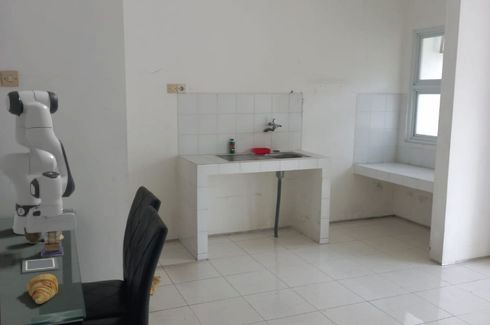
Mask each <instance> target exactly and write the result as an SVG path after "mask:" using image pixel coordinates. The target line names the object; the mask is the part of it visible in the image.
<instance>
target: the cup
mask: <svg viewBox="0 0 490 325" xmlns="http://www.w3.org/2000/svg"><path fill="white" fill-rule="evenodd" d="M24 232H25V234H24V237H25V240H26V241H28V244H29V245H32V246H33V244H34V245H37V244H38V241H39V240H40V239H41V236H42V233H41V232H38V233H27V232H26V228H25V227H24Z"/></svg>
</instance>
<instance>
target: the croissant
mask: <svg viewBox="0 0 490 325" xmlns="http://www.w3.org/2000/svg"><path fill="white" fill-rule="evenodd" d="M58 290H59V282H58V279H57V277H56V276H55V275H54V274H52V273H51V274H50V273H49V272H45V273H40V274H39V275H36V276H34V277H32V279H30V281H29V282H28V283H27V285H26V291H27V292H28V294H29V296H30V297H31V298H32V300H33V301H34V303H36V304H37V305H41V304H43V303H46V302H47V301H49V300H51V299H52V298H53V297H54V296H55V295H57V294H58Z"/></svg>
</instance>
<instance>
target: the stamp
mask: <svg viewBox="0 0 490 325" xmlns="http://www.w3.org/2000/svg"><path fill="white" fill-rule="evenodd" d="M47 235H48V242H44V247H45V252H55V251H59V246H60V241H56V231H51V232H47Z"/></svg>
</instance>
